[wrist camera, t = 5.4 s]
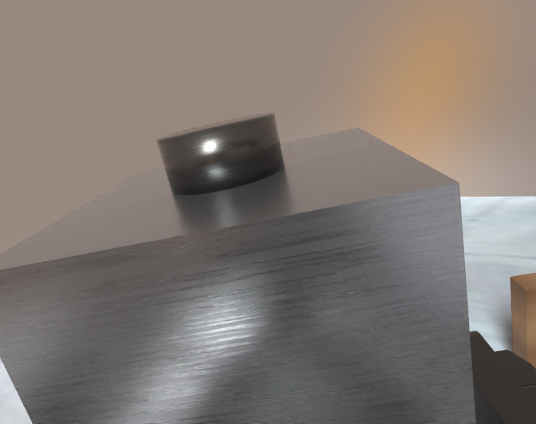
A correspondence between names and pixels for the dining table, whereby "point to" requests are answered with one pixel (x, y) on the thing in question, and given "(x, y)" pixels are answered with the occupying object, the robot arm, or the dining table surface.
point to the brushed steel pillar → (248, 289)
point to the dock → (524, 316)
